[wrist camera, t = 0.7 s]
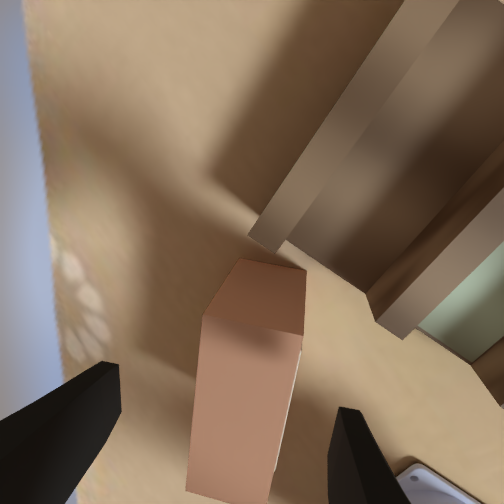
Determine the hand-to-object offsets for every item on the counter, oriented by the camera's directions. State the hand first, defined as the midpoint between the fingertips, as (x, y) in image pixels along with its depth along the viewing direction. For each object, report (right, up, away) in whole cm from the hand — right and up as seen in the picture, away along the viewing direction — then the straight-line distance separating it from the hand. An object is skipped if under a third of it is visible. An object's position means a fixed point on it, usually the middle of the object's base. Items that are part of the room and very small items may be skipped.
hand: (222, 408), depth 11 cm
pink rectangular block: (+1, 0, +10) cm, 10 cm away
